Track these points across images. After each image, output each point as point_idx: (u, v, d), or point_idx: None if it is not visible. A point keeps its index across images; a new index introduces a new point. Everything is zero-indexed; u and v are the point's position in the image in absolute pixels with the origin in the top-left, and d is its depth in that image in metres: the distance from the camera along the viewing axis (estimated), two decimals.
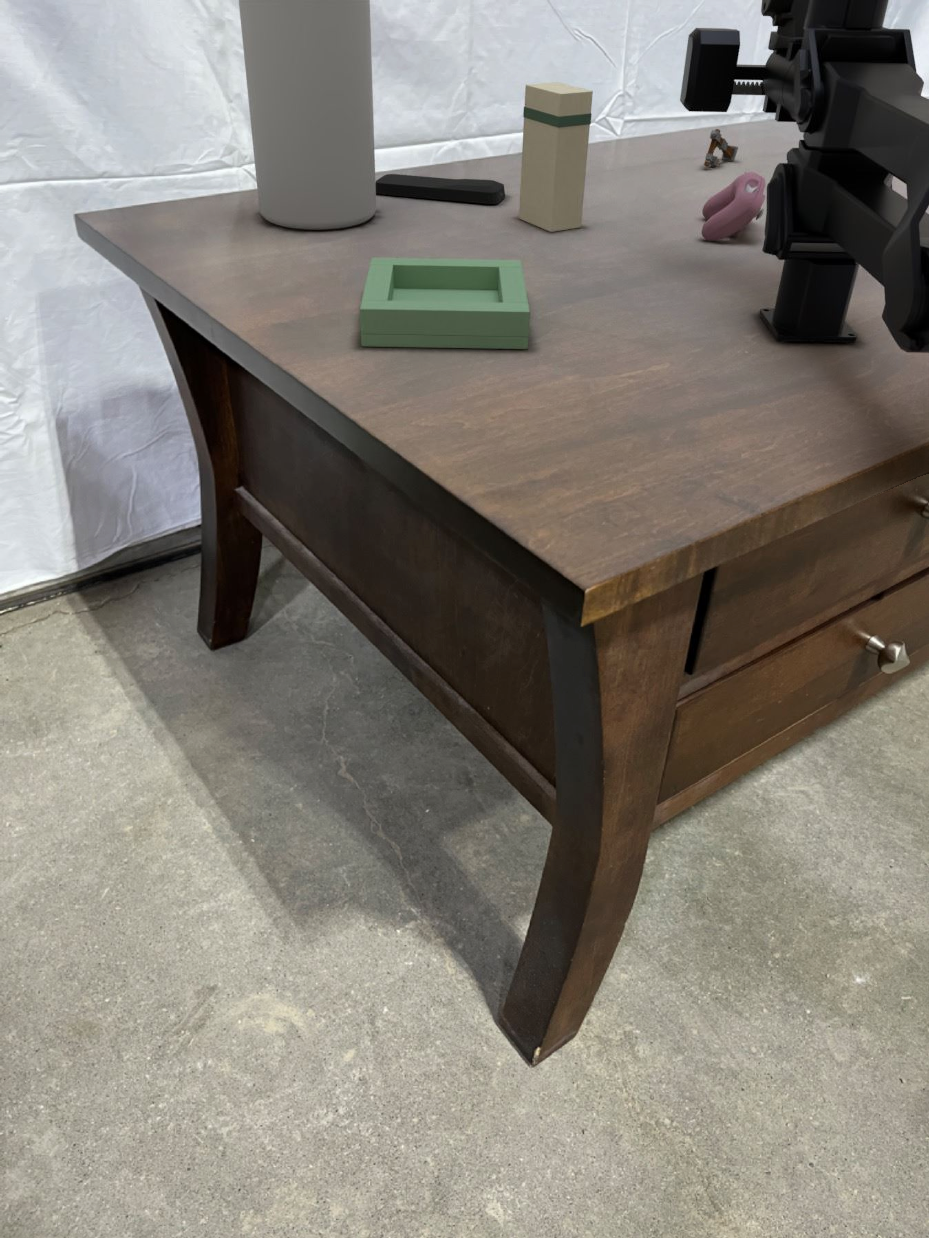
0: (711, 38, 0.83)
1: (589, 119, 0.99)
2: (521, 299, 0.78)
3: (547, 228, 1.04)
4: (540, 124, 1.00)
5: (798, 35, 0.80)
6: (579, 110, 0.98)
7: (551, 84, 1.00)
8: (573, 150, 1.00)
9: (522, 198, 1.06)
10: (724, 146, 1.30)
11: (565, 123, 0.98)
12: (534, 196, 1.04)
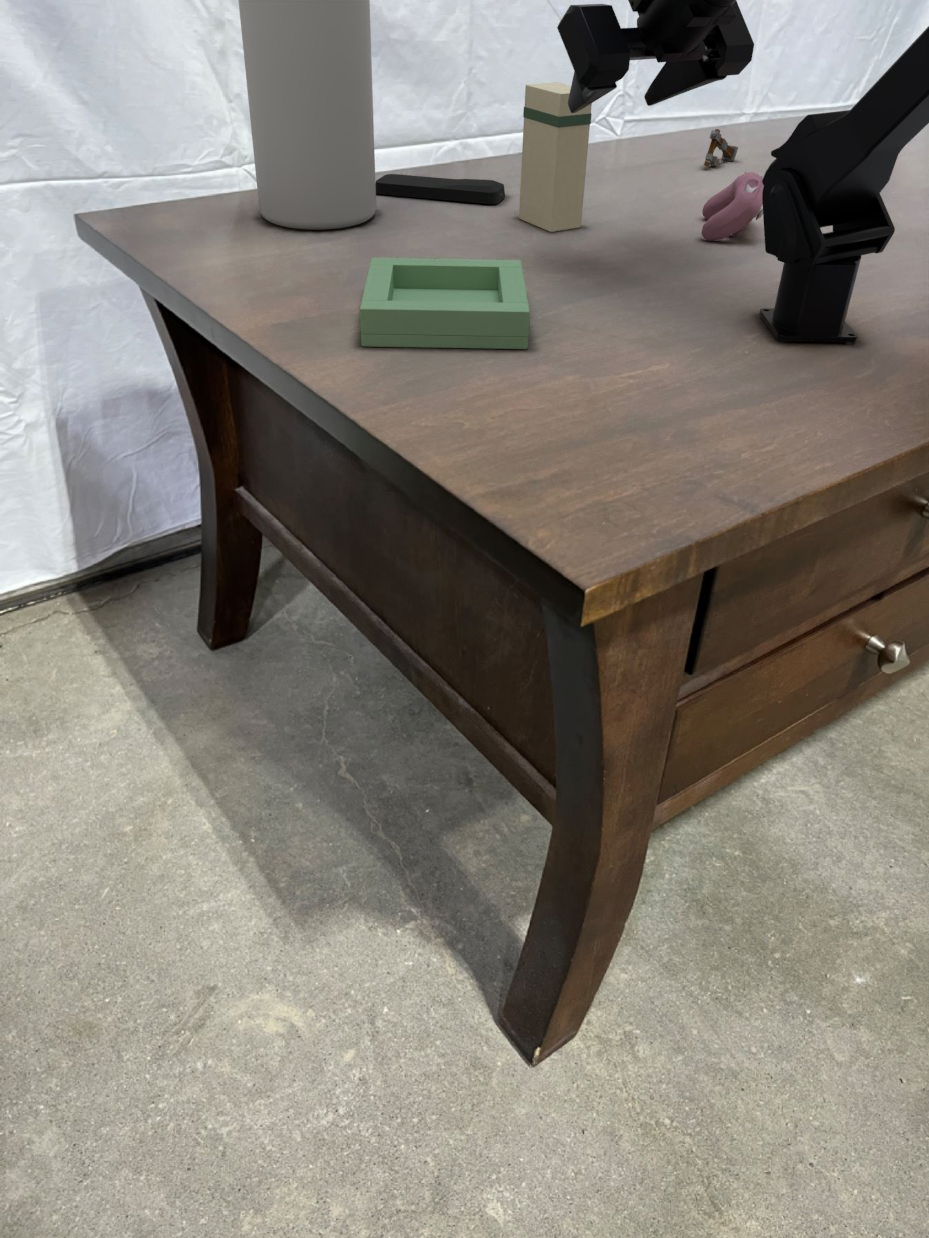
0: (584, 5, 0.82)
1: (589, 119, 0.99)
2: (521, 299, 0.78)
3: (547, 228, 1.04)
4: (540, 124, 1.00)
5: None
6: (579, 110, 0.98)
7: (551, 84, 1.00)
8: (573, 150, 1.00)
9: (522, 198, 1.06)
10: (724, 146, 1.30)
11: (565, 123, 0.98)
12: (534, 196, 1.04)
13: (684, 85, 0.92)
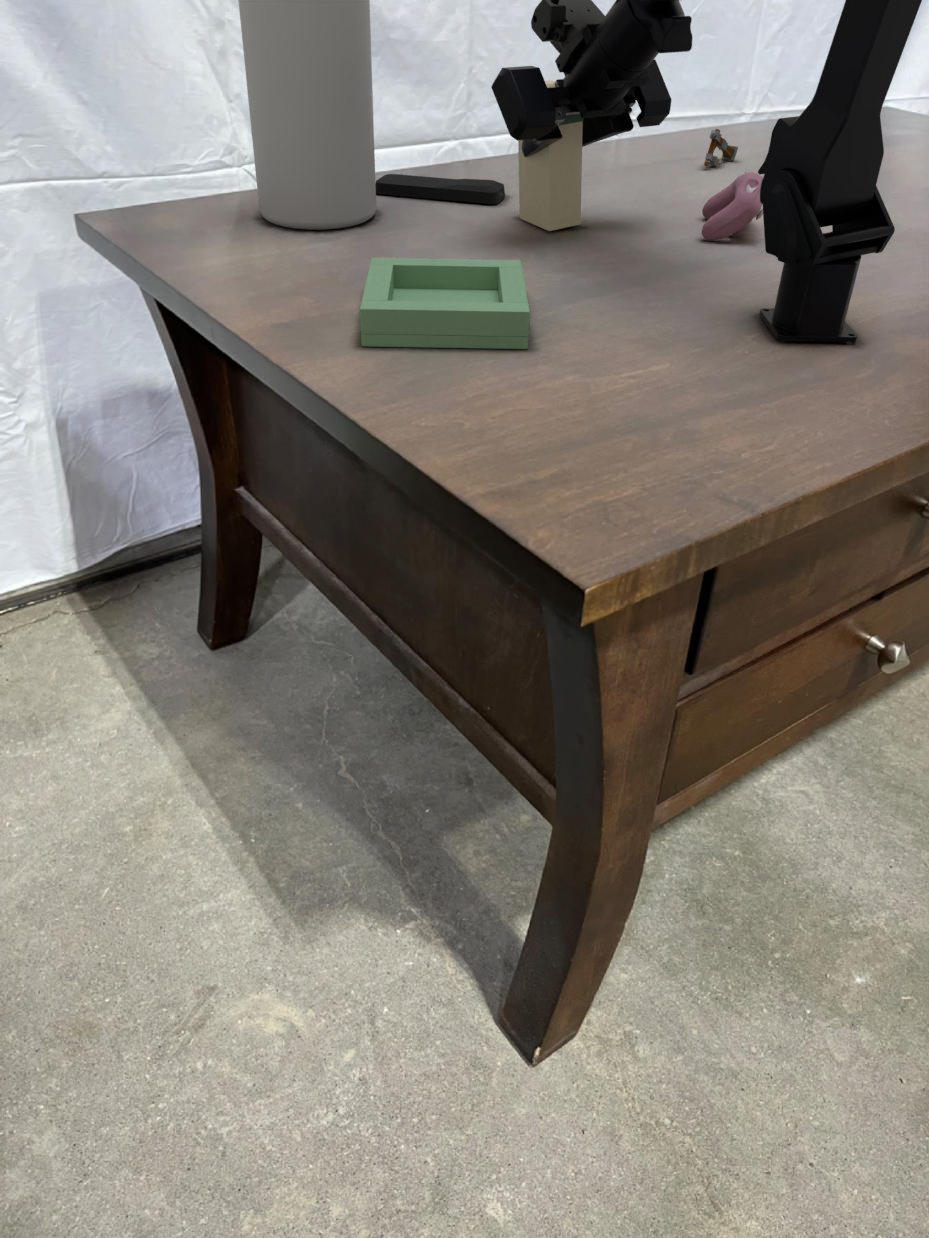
0: (514, 68, 0.91)
1: None
2: (521, 299, 0.78)
3: (545, 227, 1.04)
4: None
5: None
6: None
7: None
8: (567, 148, 1.00)
9: (521, 198, 1.06)
10: (724, 146, 1.30)
11: None
12: (532, 196, 1.04)
13: (595, 135, 1.01)
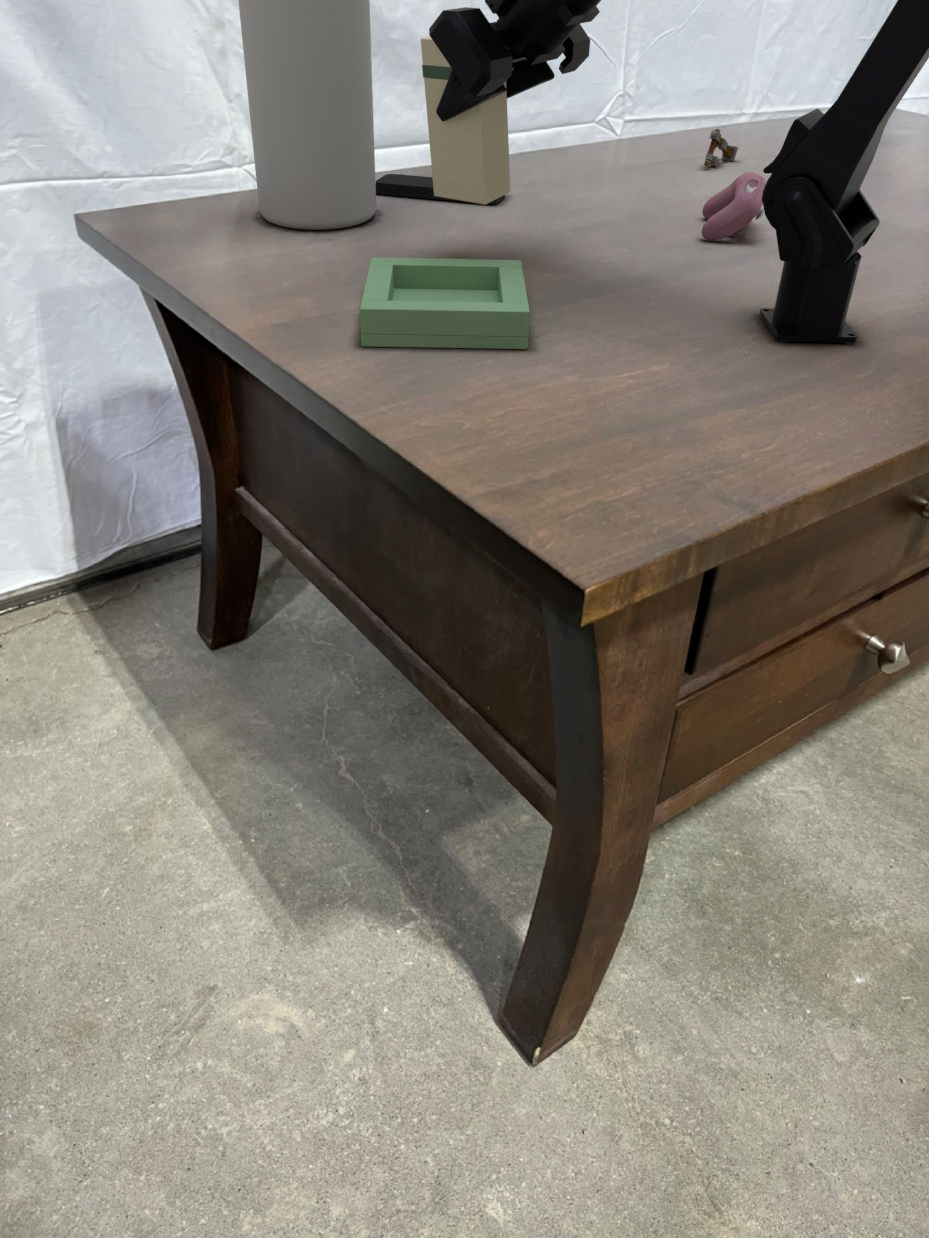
0: (457, 10, 0.76)
1: None
2: (521, 299, 0.78)
3: (479, 201, 0.90)
4: None
5: None
6: None
7: None
8: (495, 105, 0.86)
9: (436, 172, 0.91)
10: (724, 146, 1.30)
11: None
12: (454, 167, 0.89)
13: (515, 89, 0.88)
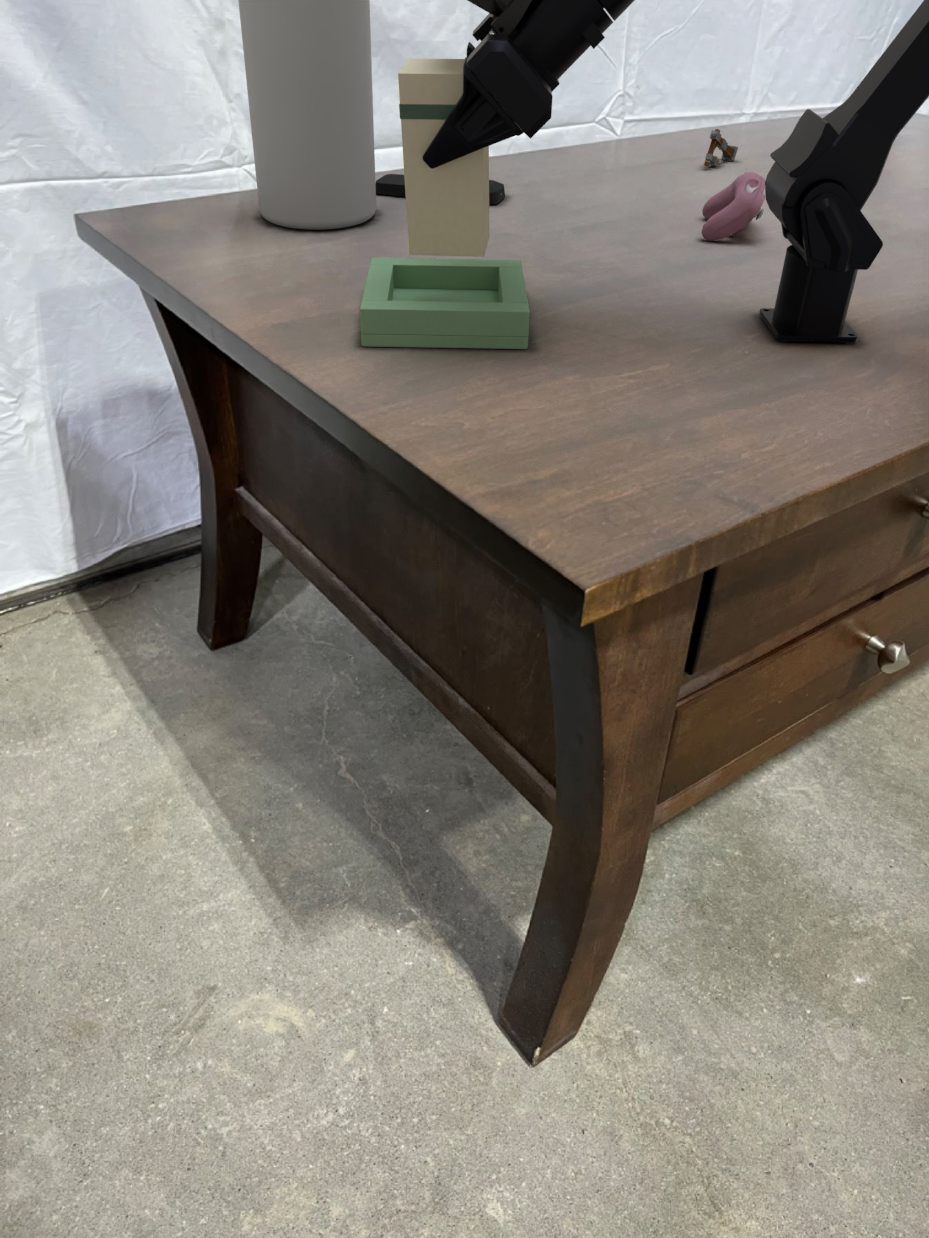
0: (498, 39, 0.63)
1: None
2: (521, 299, 0.78)
3: (476, 253, 0.77)
4: (440, 122, 0.71)
5: None
6: None
7: (417, 63, 0.71)
8: None
9: (414, 227, 0.77)
10: (724, 146, 1.30)
11: None
12: (441, 220, 0.76)
13: None
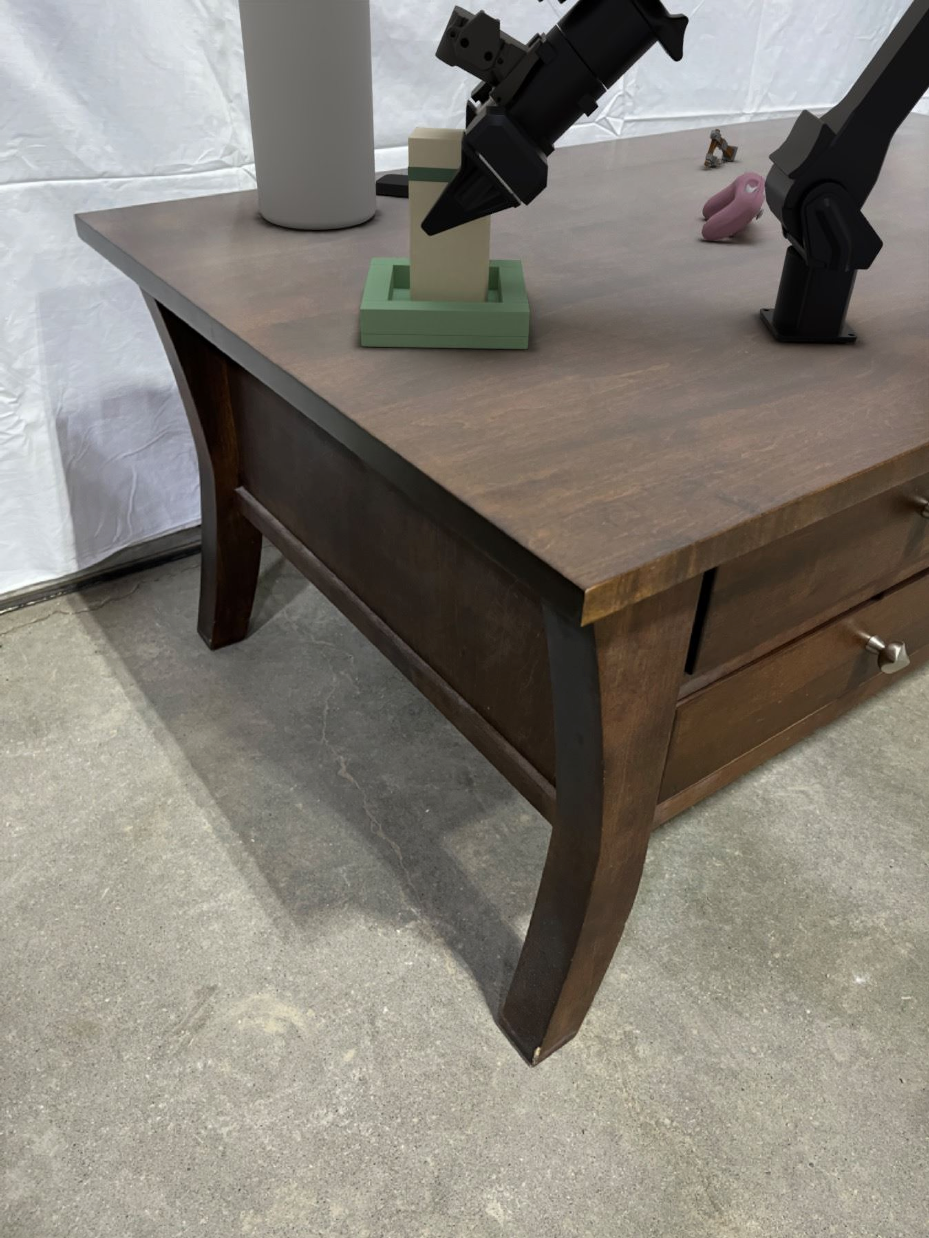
0: (496, 112, 0.66)
1: None
2: (521, 299, 0.78)
3: None
4: None
5: (525, 51, 0.69)
6: None
7: (426, 131, 0.75)
8: None
9: (416, 284, 0.79)
10: (724, 146, 1.30)
11: None
12: (442, 278, 0.79)
13: None
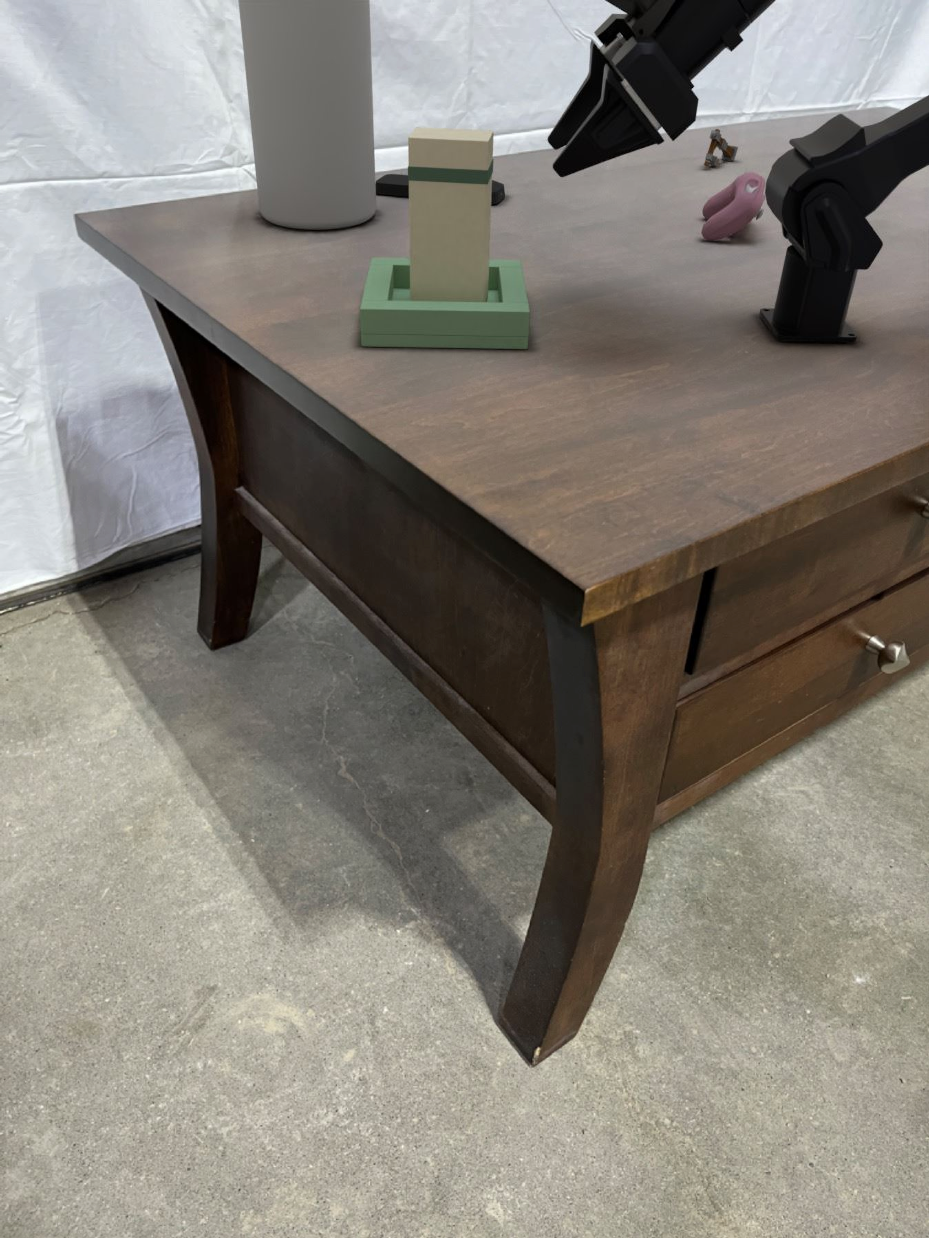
0: (647, 41, 0.63)
1: (492, 166, 0.77)
2: (521, 299, 0.78)
3: None
4: (447, 184, 0.75)
5: None
6: (491, 157, 0.75)
7: (427, 131, 0.75)
8: (489, 208, 0.77)
9: (416, 284, 0.79)
10: (724, 146, 1.30)
11: (488, 177, 0.75)
12: (442, 278, 0.79)
13: None
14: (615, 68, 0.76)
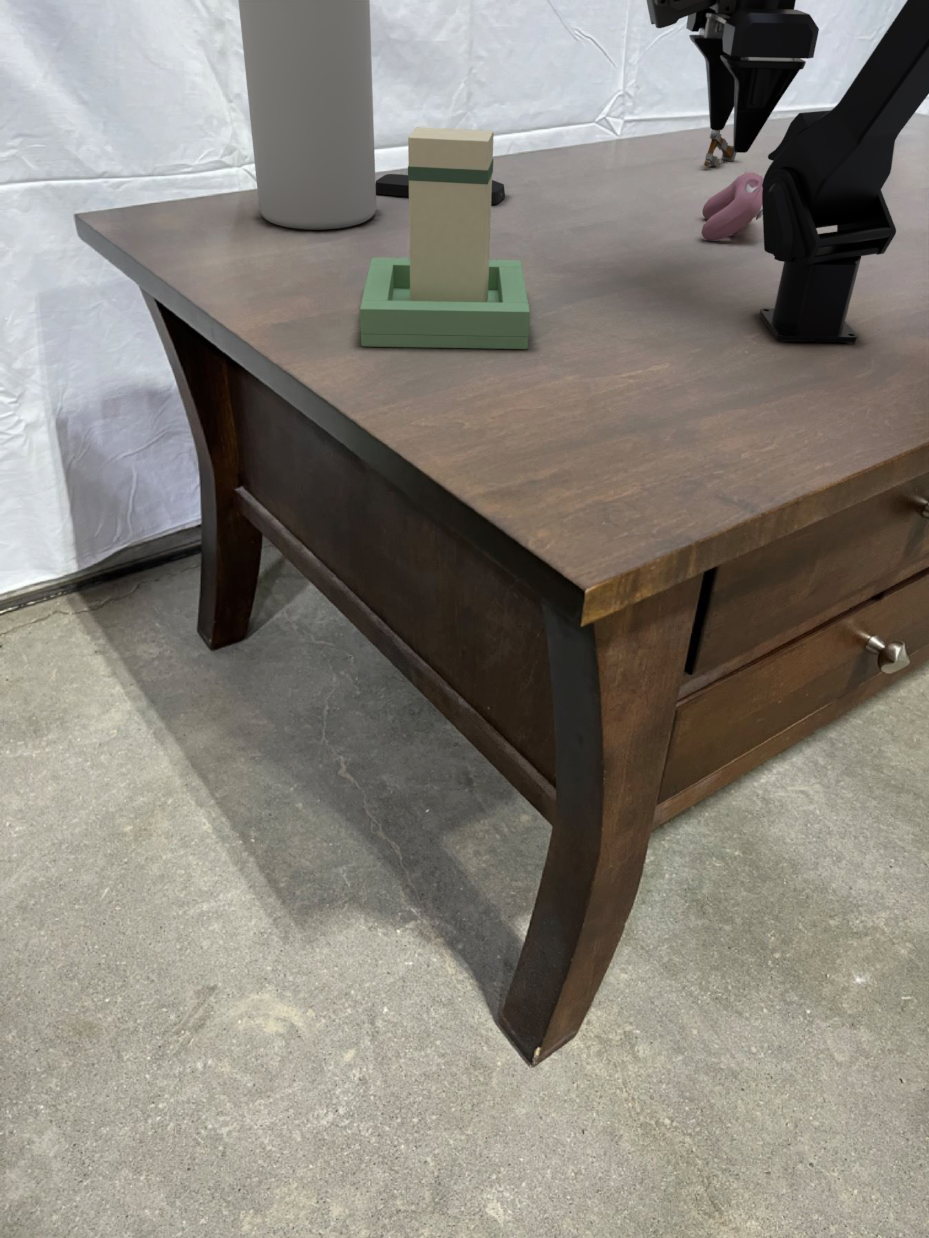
0: (740, 18, 0.72)
1: (492, 166, 0.77)
2: (521, 299, 0.78)
3: None
4: (447, 184, 0.75)
5: None
6: (491, 157, 0.75)
7: (427, 131, 0.75)
8: (489, 208, 0.77)
9: (416, 284, 0.79)
10: (724, 146, 1.30)
11: (488, 177, 0.75)
12: (442, 278, 0.79)
13: None
14: (722, 37, 0.85)
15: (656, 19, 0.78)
